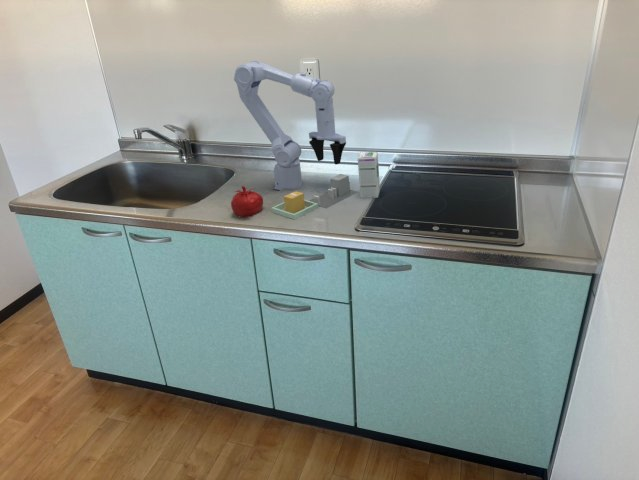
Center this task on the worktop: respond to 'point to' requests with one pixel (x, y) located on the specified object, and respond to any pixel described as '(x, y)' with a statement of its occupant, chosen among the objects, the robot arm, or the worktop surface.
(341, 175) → the grey rectangular block
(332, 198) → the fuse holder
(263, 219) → the worktop surface
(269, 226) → the worktop surface
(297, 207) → the block
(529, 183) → the worktop surface
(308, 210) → the tray
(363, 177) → the syrup box
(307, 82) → the robot arm
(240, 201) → the pomegranate
